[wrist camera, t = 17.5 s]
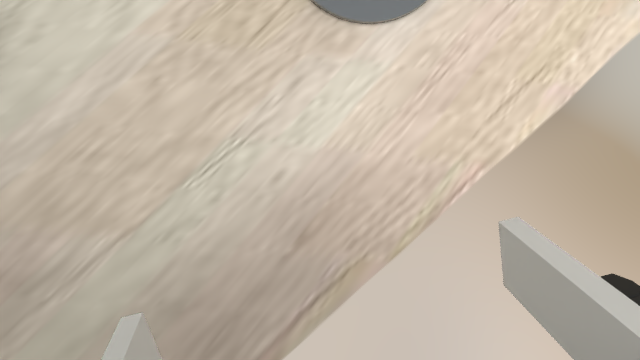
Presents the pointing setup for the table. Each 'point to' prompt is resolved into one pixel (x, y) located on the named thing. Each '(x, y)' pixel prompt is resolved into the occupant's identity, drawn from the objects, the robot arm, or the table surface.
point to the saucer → (368, 9)
